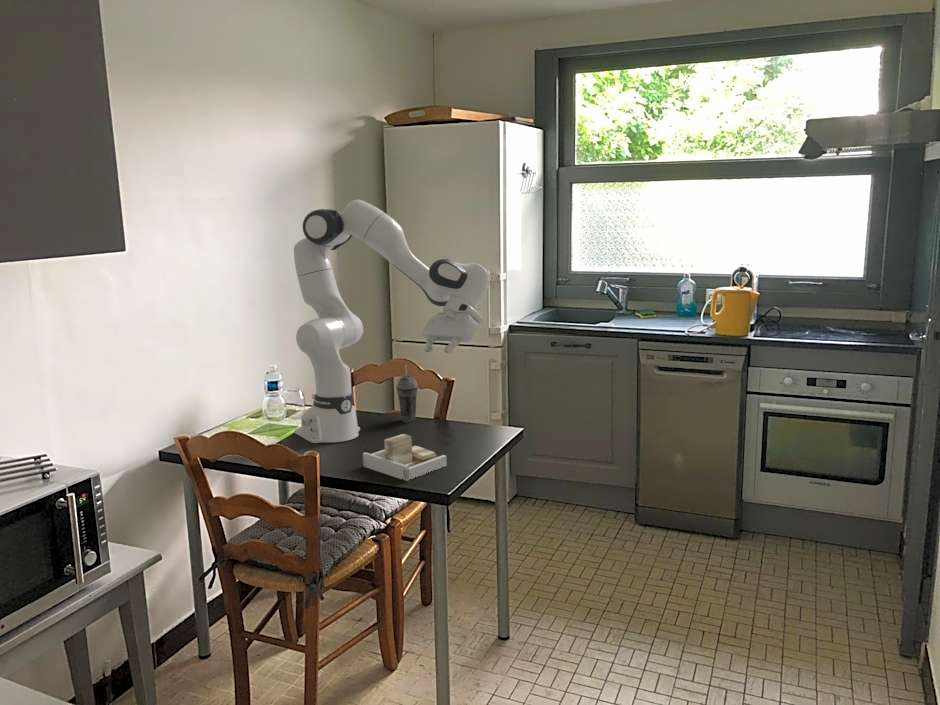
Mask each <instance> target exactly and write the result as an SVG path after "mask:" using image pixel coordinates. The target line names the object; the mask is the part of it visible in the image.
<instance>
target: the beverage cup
mask: <svg viewBox="0 0 940 705" xmlns="http://www.w3.org/2000/svg"><path fill="white" fill-rule="evenodd" d="M404 370H405V375H403V376H402V377H401V378H399V380H398V382H397V385H396V392H397V394H398V400H399V411H400V417H401V422H402V421H403V423H412V421H413V420H415V421H416V413H417V412H416V411H417V397H418V396H417V394H418V389H419V386H418V383H417V380H416V379H415V378H414V377H413V376H411V375H408V371H407V370H408V367H407V363H405V364H404Z"/></svg>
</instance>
